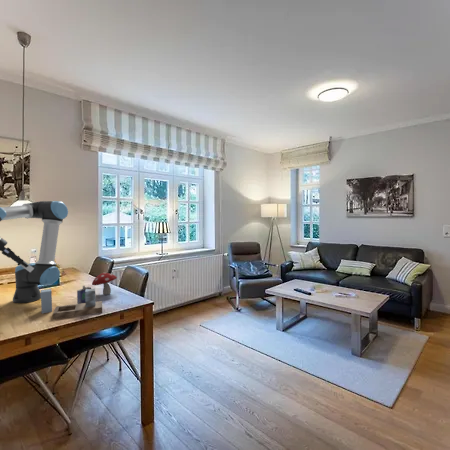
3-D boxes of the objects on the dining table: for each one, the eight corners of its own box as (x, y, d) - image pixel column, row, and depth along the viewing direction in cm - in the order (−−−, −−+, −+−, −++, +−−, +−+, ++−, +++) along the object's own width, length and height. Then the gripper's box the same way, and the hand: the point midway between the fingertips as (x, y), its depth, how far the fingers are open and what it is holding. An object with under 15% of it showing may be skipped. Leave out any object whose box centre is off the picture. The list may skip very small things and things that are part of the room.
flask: (79, 305, 172) (78, 287, 171) (76, 304, 173) (75, 287, 173) (92, 301, 180) (92, 284, 179) (89, 300, 181) (89, 283, 181)
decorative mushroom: (97, 299, 183) (97, 276, 182) (88, 294, 194) (87, 272, 193) (121, 294, 194) (120, 272, 193) (111, 289, 205) (110, 269, 204)
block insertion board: (53, 319, 150) (52, 296, 149) (56, 311, 161) (55, 290, 160) (102, 312, 159) (101, 291, 159) (102, 305, 170) (101, 286, 170)
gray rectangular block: (41, 313, 158) (41, 292, 157) (41, 310, 162) (40, 290, 161) (52, 311, 161) (51, 290, 160) (51, 309, 165) (51, 288, 164)
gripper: (-15, 246, 152) (19, 271, 163) (-10, 250, 134) (28, 277, 145) (-2, 236, 156) (30, 261, 166) (4, 238, 138) (40, 266, 148)
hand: (29, 268), depth 156 cm, fingers open, 13 cm apart
